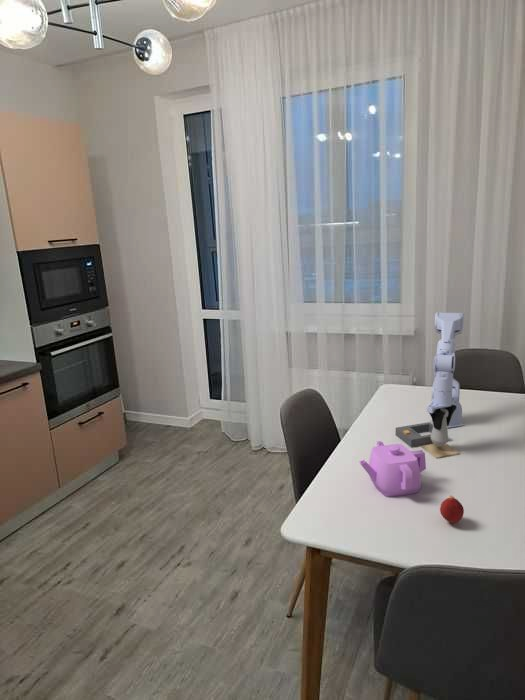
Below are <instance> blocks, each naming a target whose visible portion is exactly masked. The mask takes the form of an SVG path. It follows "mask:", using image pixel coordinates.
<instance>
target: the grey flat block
mask: <svg viewBox="0 0 525 700" xmlns="http://www.w3.org/2000/svg"><path fill="white" fill-rule="evenodd" d="M433 426H434V425H433V424H432V423H431V422H430V421H427V422H421V423H416V424H411V425H405V426H398V427H395V436H396V437H397V438H398V439H400V440H401V441H402V442H403V443H405V444H406V445H407V446H408V447H410V448H417V447H422V446H424V445H430V444H433V442H432V440H431V432H432V429H433ZM427 432H429V433H430V434H426V435H425V434H424V435H421V433H427Z"/></svg>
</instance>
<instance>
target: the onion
mask: <svg viewBox="0 0 525 700" xmlns="http://www.w3.org/2000/svg"><path fill="white" fill-rule="evenodd" d="M464 511H465V510H464V506H463V504H462V503H461V502H460V501H459V500H458V499H457V498H455V497H454V496H453V495H452V494H451V495H449V497H447V498H446V499H444V500H443V501H442V502H441V504H440V507H439V512H440V514H441V517H443V519H445V521H447V522H448V523H450V524H454V523H458V522H459V521H460V520H462V519H463V517H464V513H465V512H464Z"/></svg>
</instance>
